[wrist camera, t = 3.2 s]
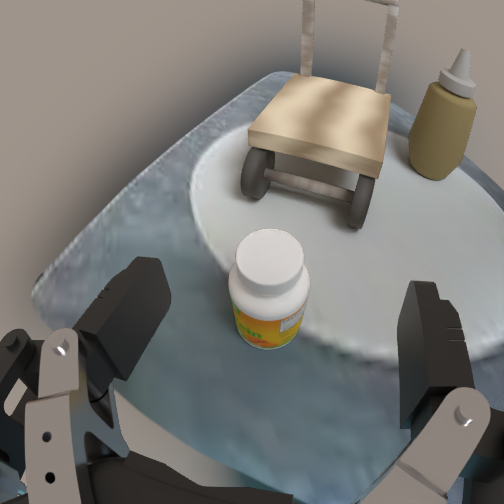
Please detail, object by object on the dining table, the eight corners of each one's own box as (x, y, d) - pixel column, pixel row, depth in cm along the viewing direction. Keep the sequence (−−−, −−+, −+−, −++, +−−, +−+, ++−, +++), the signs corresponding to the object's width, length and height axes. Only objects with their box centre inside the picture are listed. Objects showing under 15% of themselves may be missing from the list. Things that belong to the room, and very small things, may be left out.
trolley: (381, 133, 42) (406, -3, 24) (359, 240, 31) (418, 21, 13) (298, 112, 45) (303, -22, 27) (240, 205, 34) (222, -5, 16)
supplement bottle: (223, 318, 26) (204, 252, 18) (270, 281, 28) (271, 206, 20) (266, 364, 24) (266, 315, 16) (313, 322, 26) (335, 256, 18)
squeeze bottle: (407, 142, 41) (435, 33, 26) (455, 165, 38) (494, 59, 23) (395, 169, 37) (430, 42, 22) (449, 196, 34) (500, 74, 19)
